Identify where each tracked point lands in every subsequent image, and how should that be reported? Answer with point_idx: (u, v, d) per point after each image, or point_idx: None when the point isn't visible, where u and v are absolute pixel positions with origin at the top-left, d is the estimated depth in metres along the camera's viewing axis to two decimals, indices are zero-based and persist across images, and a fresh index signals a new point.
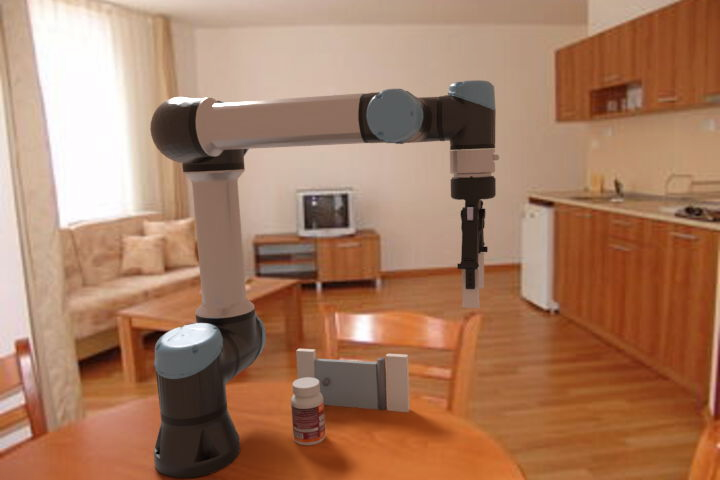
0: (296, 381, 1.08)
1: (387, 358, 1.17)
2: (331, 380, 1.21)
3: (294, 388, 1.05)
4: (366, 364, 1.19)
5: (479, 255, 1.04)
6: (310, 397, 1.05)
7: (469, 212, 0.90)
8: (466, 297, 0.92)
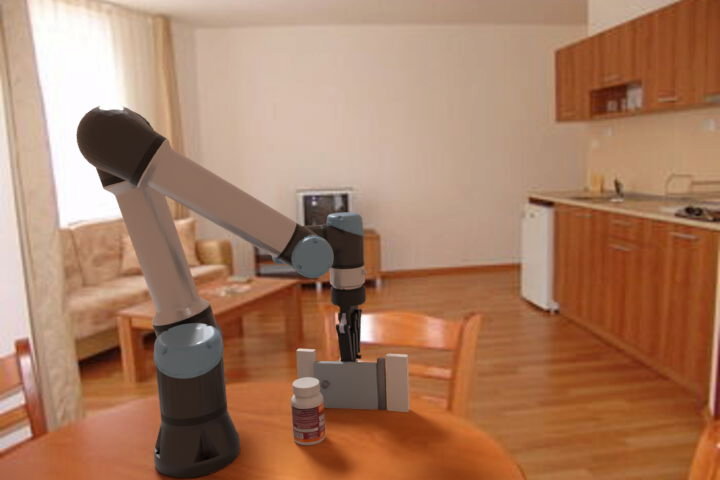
0: (296, 381, 1.08)
1: (387, 358, 1.17)
2: (330, 382, 1.20)
3: (294, 388, 1.05)
4: (366, 365, 1.18)
5: None
6: (310, 397, 1.05)
7: (341, 330, 1.17)
8: None
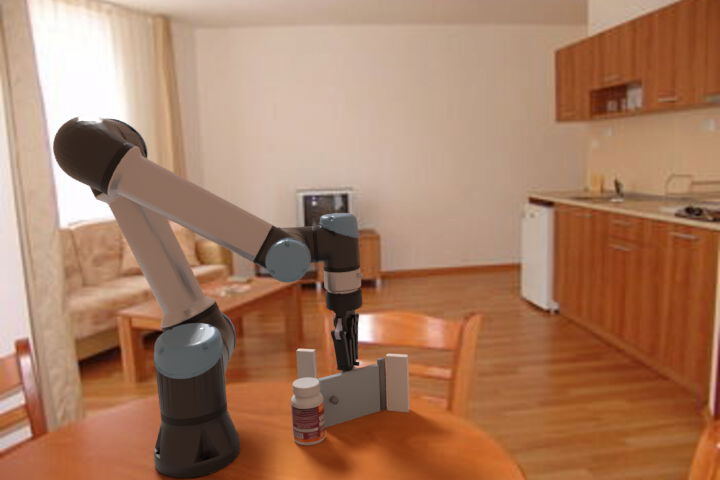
0: (296, 381, 1.08)
1: (387, 358, 1.17)
2: (337, 396, 1.13)
3: (294, 388, 1.05)
4: (370, 368, 1.16)
5: None
6: (310, 397, 1.05)
7: (337, 336, 1.11)
8: None
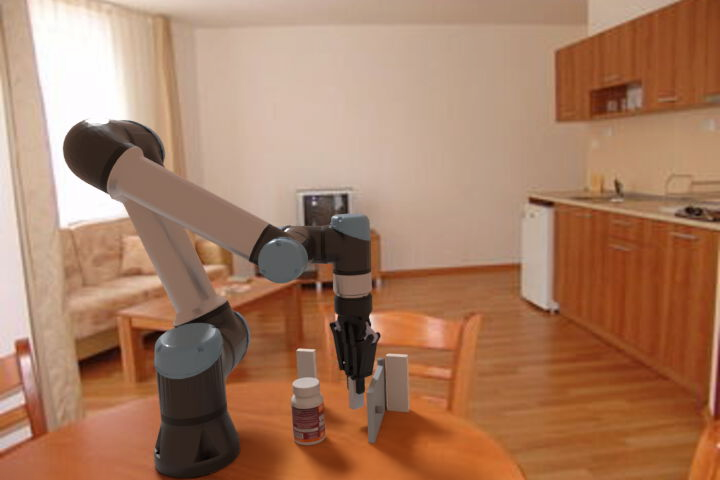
0: (296, 381, 1.08)
1: (387, 358, 1.17)
2: (376, 406, 1.08)
3: (294, 388, 1.05)
4: (381, 370, 1.15)
5: None
6: (310, 397, 1.05)
7: (375, 339, 1.07)
8: (356, 400, 1.13)
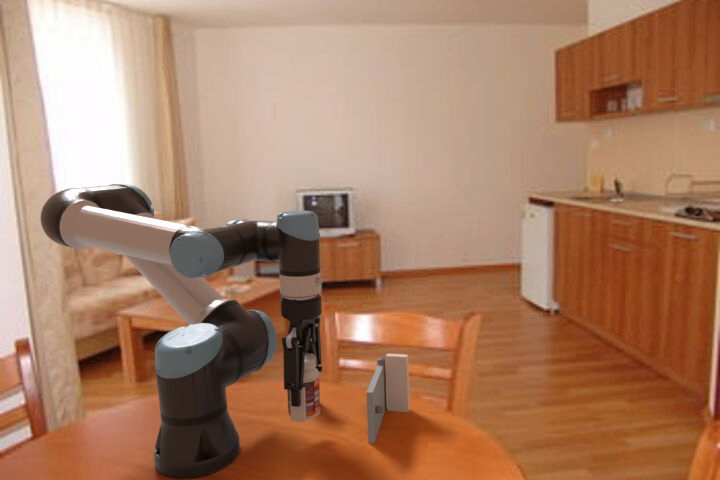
0: None
1: (387, 358, 1.17)
2: (376, 406, 1.08)
3: None
4: (381, 370, 1.15)
5: None
6: (306, 371, 1.05)
7: (288, 343, 0.99)
8: (294, 412, 1.04)
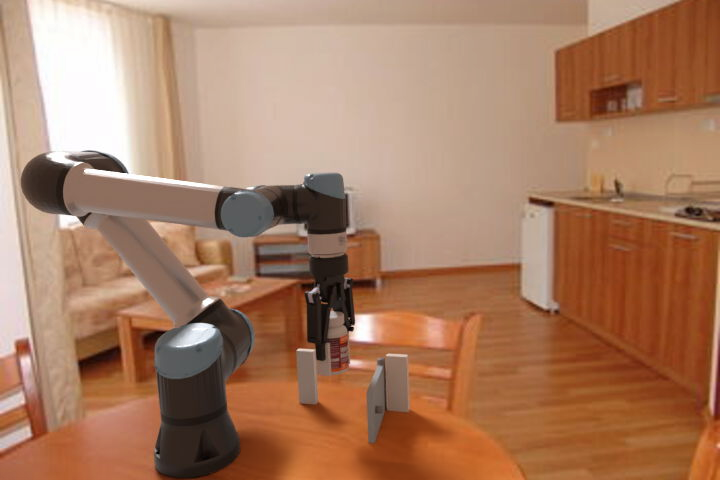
0: None
1: (387, 358, 1.17)
2: (376, 406, 1.08)
3: None
4: (381, 370, 1.15)
5: None
6: (332, 328, 1.08)
7: (310, 297, 1.04)
8: (320, 366, 1.08)
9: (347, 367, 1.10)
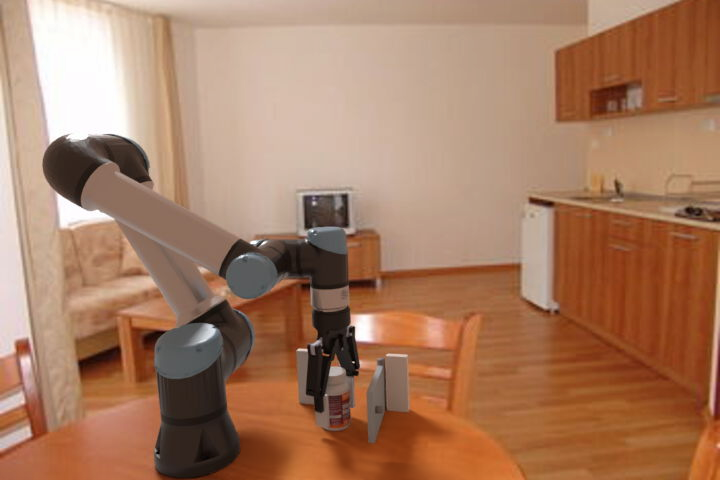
0: None
1: (387, 358, 1.17)
2: (376, 406, 1.08)
3: None
4: (381, 370, 1.15)
5: (348, 379, 1.16)
6: (335, 385, 1.10)
7: (312, 349, 1.05)
8: (318, 417, 1.09)
9: (349, 423, 1.12)
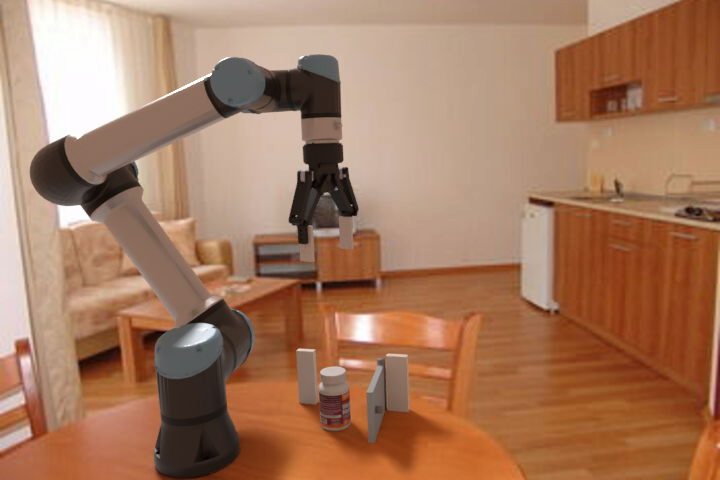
0: (325, 369, 1.13)
1: (387, 358, 1.17)
2: (376, 406, 1.08)
3: (320, 375, 1.11)
4: (381, 370, 1.15)
5: (346, 218, 1.12)
6: (334, 385, 1.10)
7: (302, 174, 1.00)
8: (302, 251, 1.02)
9: (349, 423, 1.12)
